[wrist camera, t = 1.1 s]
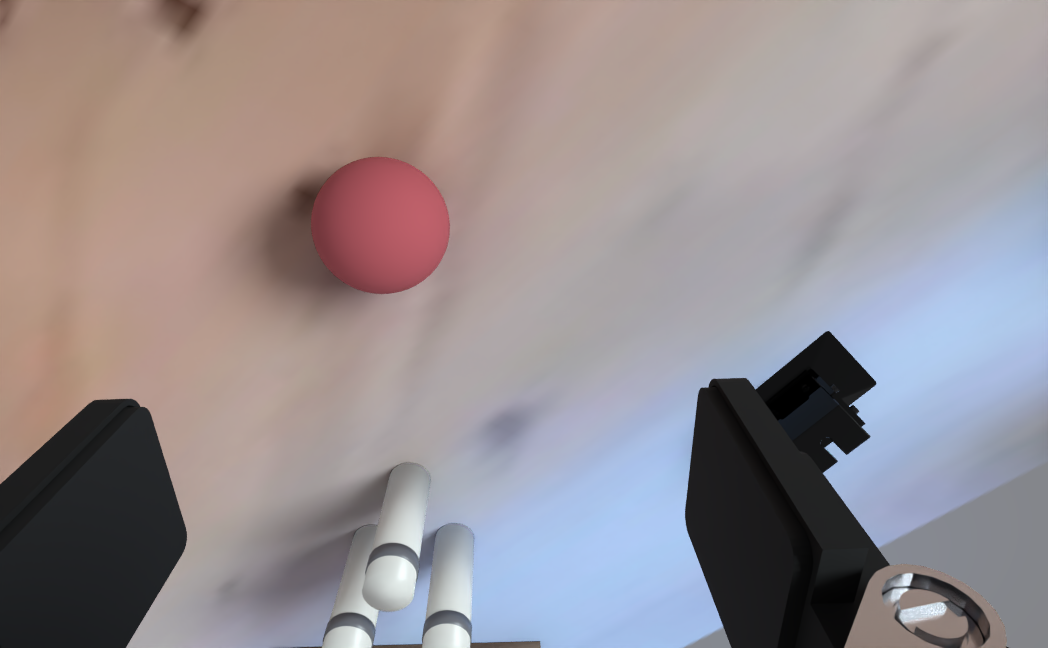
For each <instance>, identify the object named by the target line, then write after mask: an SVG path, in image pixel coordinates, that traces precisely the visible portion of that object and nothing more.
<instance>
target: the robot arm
mask: <svg viewBox="0 0 1048 648" xmlns="http://www.w3.org/2000/svg"><path fill="white" fill-rule="evenodd" d="M685 520H686V526H687V531H688V534H689V537H690V539H691V542H692V545H693V547H694V550H695V552H696V555H697V558H698V560H699V563H700V566H701V568H702V571H703V574H704V576H705V579H706V582H707V584H708V587H709V590H710V592H711V595H712V597H713V600H714V603H715V605H716V608H717V611H718V613H719V616H720V619H721V621H722V624H723V627H724V629H725V632H726V634H727V637H728V640H729V642H730V645H731V647H732V648H1008V647H1006V643H1007V639H1006V632H1005V626H1004V624H1003V622H1002V620H1001V619H1000V617H999V615H998V613H997V612H996V610H995V609H994V608H993V607H992V606H991V605H990V604H989V603H988V602H987V601H986V600H985V599H984V598H983V597H982V596H981V595H980V594H979V593H977V592H976V591H974V590H973V589H972V588H970V587H969V586H967V585H966V584H965V583H963V582H961V581H959V580H957V579H955V578H953V577H951V576H949V575H947V574H945V573H943V572H940V571H936V570H933V569H930V568H927V567H924V566H916V565H908V564H900V565H891V566H890V565H889V563H888V562H887V561H886V559H885V558H884V556H883V555H882V554H881V552H880V551H879V550H878V548H877V547H876V545H875V544H874V543H873V541H872V540H871V539H870V537H869V536H868V535H867V533H866V532H865V530H864V529H863V528H862V526H861V525H860V524H859V522H858V521H857V520H856V518H855V517H854V515H853V514H852V513H851V511H850V510H849V509H848V507H847V506H846V505H845V503H844V502H843V500H842V499H841V498H840V496H839V495H838V494H837V492H836V491H835V490H834V488H833V487H832V485H831V484H830V483H829V481H828V480H827V479H826V477H825V476H824V475H823V473H822V472H821V470H820V469H819V468H818V466H817V465H816V464H815V462H814V461H813V460H812V458H811V457H810V456H809V455H808V454H807V453H804V452H800V451H799V450H798V449H797V447H796V446H795V444H794V443H793V442H792V440H791V439H790V437H789V436H788V435H787V433H786V432H785V430H784V429H783V428H782V426H781V425H780V423H779V422H778V421H777V419H776V418H775V416H774V415H773V414H772V412H771V411H770V410H769V408H768V407H767V405H766V404H765V403H764V401H763V400H762V398H761V397H760V396H759V394H758V393H757V391H756V390H755V389H754V387H753V386H752V384H751V383H750V382H749V381H748V380H747V379H746V378H730V379H712V380H711V382H710V384H709V388H701V389H700V390H699V393H698V400H697V409H696V418H695V427H694V436H693V445H692V454H691V463H690V472H689V481H688V490H687V499H686V508H685ZM186 541H187V532H186V527H185V524H184V521H183V518H182V514H181V511H180V508H179V505H178V501H177V498H176V495H175V492H174V488H173V485H172V482H171V479H170V475H169V472H168V469H167V466H166V462H165V459H164V456H163V453H162V449H161V446H160V443H159V440H158V436H157V433H156V430H155V427H154V423H153V420H152V417H151V414H150V412H149V411H148V409H147V408H145V407H140V405H139V404H138V403H137V402H136V401H135V400H133V399H110V400H94V401H93V402H91V403H89V404H88V405H87V406H86V407H85V408H84V409H83V410H82V411H80V412H79V413H78V414H77V415H76V416H75V417H74V418H73V419H72V420H71V421H69V422H68V423H67V424H66V425H65V426H64V427H63V428H62V429H61V430H60V431H58V432H57V433H56V434H55V435H54V436H53V437H52V438H51V439H50V440H49V441H47V442H46V443H45V444H44V445H43V446H42V447H41V448H40V449H39V450H38V451H36V452H35V453H34V454H33V455H32V456H31V457H30V458H29V459H28V460H27V461H25V462H24V463H23V464H22V465H21V466H20V467H19V468H18V469H17V470H16V471H15V472H13V473H12V474H11V475H10V476H9V477H8V478H7V479H6V480H5V481H4V482H2V483H1V484H0V648H126V646H127V645H128V643H129V641H130V640H131V638H132V636H133V635H134V633H135V631H136V630H137V628H138V626H139V625H140V623H141V622H142V620H143V618H144V617H145V615H146V613H147V612H148V610H149V608H150V607H151V605H152V603H153V602H154V600H155V598H156V597H157V595H158V593H159V592H160V590H161V588H162V587H163V585H164V584H165V582H166V580H167V579H168V577H169V575H170V574H171V572H172V570H173V569H174V567H175V565H176V564H177V562H178V560H179V559H180V557H181V555H182V554H183V552H184V549H185V546H186Z"/></svg>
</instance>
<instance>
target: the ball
mask: <svg viewBox="0 0 1048 648" xmlns="http://www.w3.org/2000/svg"><path fill="white" fill-rule="evenodd" d="M449 230H450V223H449V215H448V211H447V207H446V204H445V202H444V199H443V197H442V195H441V193H440V192H439V190H438V189H437V187H436V186H435V185H434V183H433V182H432V181H431V180H430V179H429V178H428V177H427V176H426V175H425V174H424V173H422V172H421V171H420V170H418V169H417V168H415V167H414V166H412V165H410V164H407V163H405V162H402V161H400V160H397V159H392V158H386V157H369V158H364V159H360V160H357V161H354V162H351V163H349V164H347V165H345V166H343V167H342V168H340V169H339V170H337V171H336V172H335V173H334V174H333V175H332V176H330V177H329V178H328V180H327V181H326V182H325V184H324V185H323V186H322V187H321V189H320V191H319V193H318V195H317V197H316V200H315V202H314V206H313V210H312V217H311V231H312V236H313V241H314V244H315V247H316V250H317V252H318V254H319V256H320V258H321V259H322V261H323V263H324V264H325V265H326V267H327V268H328V269H329V270H330V271H331V272H332V273H333V274H334V275H335V276H336V277H337V278H339V279H340V280H341V281H343V282H344V283H346V284H348V285H349V286H351V287H353V288H356V289H358V290H361V291H365V292H369V293H376V294H389V293H395V292H401V291H404V290H407V289H409V288H411V287H414V286H416V285H417V284H419V283H420V282H422V281H423V280H425V279H426V278H427V277H428V276H429V275H430V274H431V273H432V272H433V271H434V270H435V269H436V267H437V266H438V264H439V263H440V261H441V259H442V257H443V255H444V253H445V251H446V248H447V245H448V240H449Z"/></svg>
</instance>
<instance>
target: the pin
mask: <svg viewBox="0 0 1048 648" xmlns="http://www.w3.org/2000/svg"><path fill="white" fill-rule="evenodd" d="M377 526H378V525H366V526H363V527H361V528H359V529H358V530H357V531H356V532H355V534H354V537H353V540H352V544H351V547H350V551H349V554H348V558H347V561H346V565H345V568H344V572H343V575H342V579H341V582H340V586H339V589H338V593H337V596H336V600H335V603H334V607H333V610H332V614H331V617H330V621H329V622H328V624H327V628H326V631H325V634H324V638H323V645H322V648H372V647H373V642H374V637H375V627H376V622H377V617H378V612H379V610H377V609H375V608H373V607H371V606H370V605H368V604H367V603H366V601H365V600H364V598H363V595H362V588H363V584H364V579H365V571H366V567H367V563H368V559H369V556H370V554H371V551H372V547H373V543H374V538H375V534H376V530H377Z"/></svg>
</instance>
